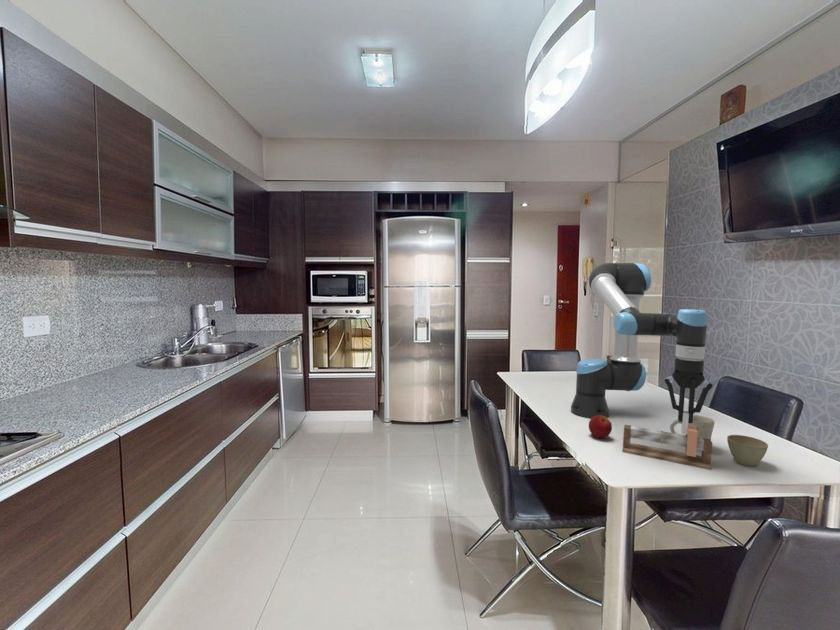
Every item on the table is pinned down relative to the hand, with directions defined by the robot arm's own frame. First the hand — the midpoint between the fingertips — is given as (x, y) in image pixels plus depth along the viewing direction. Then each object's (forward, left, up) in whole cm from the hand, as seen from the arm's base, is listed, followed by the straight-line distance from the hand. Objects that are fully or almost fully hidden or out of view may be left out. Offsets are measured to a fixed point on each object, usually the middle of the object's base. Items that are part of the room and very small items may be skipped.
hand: (684, 432), depth 127 cm
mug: (+3, +15, -9) cm, 18 cm away
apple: (-25, +6, -9) cm, 27 cm away
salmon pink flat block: (+2, 0, -6) cm, 6 cm away
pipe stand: (-5, 0, -9) cm, 10 cm away
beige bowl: (+17, +8, -9) cm, 21 cm away
